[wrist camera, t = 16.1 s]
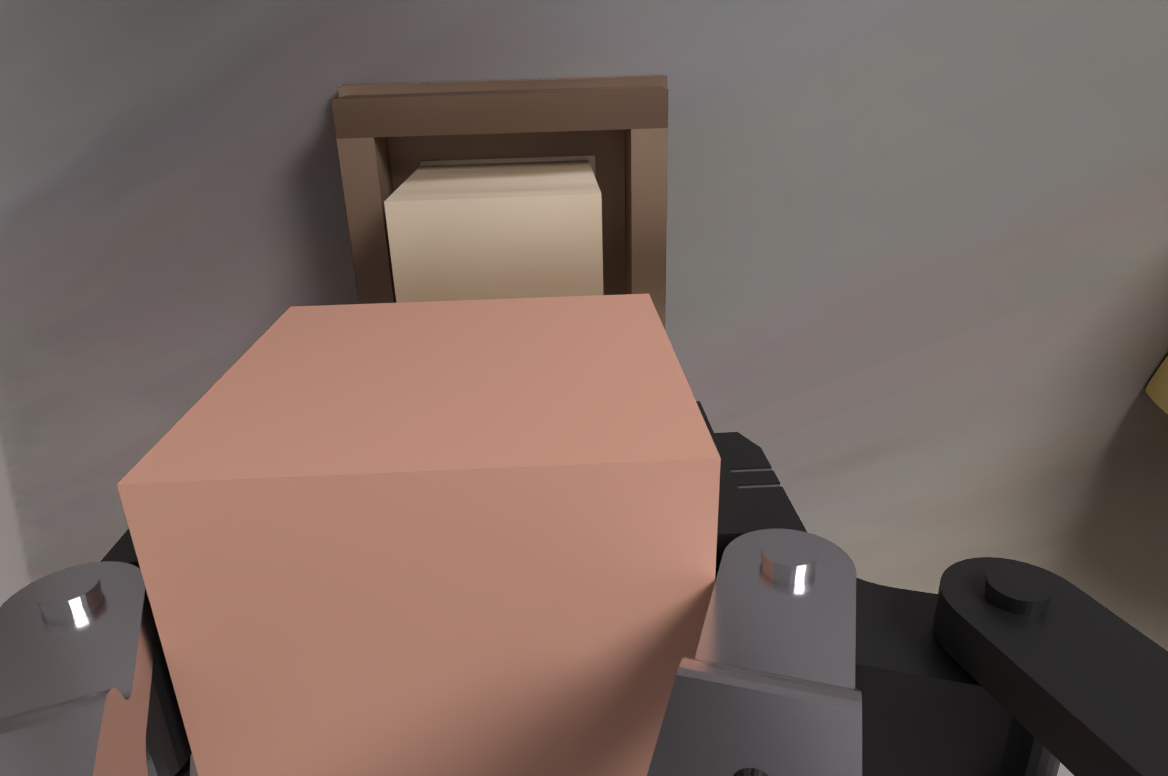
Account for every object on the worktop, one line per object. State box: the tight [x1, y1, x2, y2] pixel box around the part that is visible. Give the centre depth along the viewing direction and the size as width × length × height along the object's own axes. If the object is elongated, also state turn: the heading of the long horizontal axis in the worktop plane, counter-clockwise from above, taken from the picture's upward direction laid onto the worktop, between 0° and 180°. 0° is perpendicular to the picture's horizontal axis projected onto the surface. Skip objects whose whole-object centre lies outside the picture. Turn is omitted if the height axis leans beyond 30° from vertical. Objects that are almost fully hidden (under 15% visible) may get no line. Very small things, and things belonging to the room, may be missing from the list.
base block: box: [384, 160, 603, 303], centre depth 22 cm, size 5×5×6 cm
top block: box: [117, 294, 721, 776], centre depth 10 cm, size 5×5×5 cm
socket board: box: [331, 75, 668, 329], centre depth 25 cm, size 10×10×3 cm
